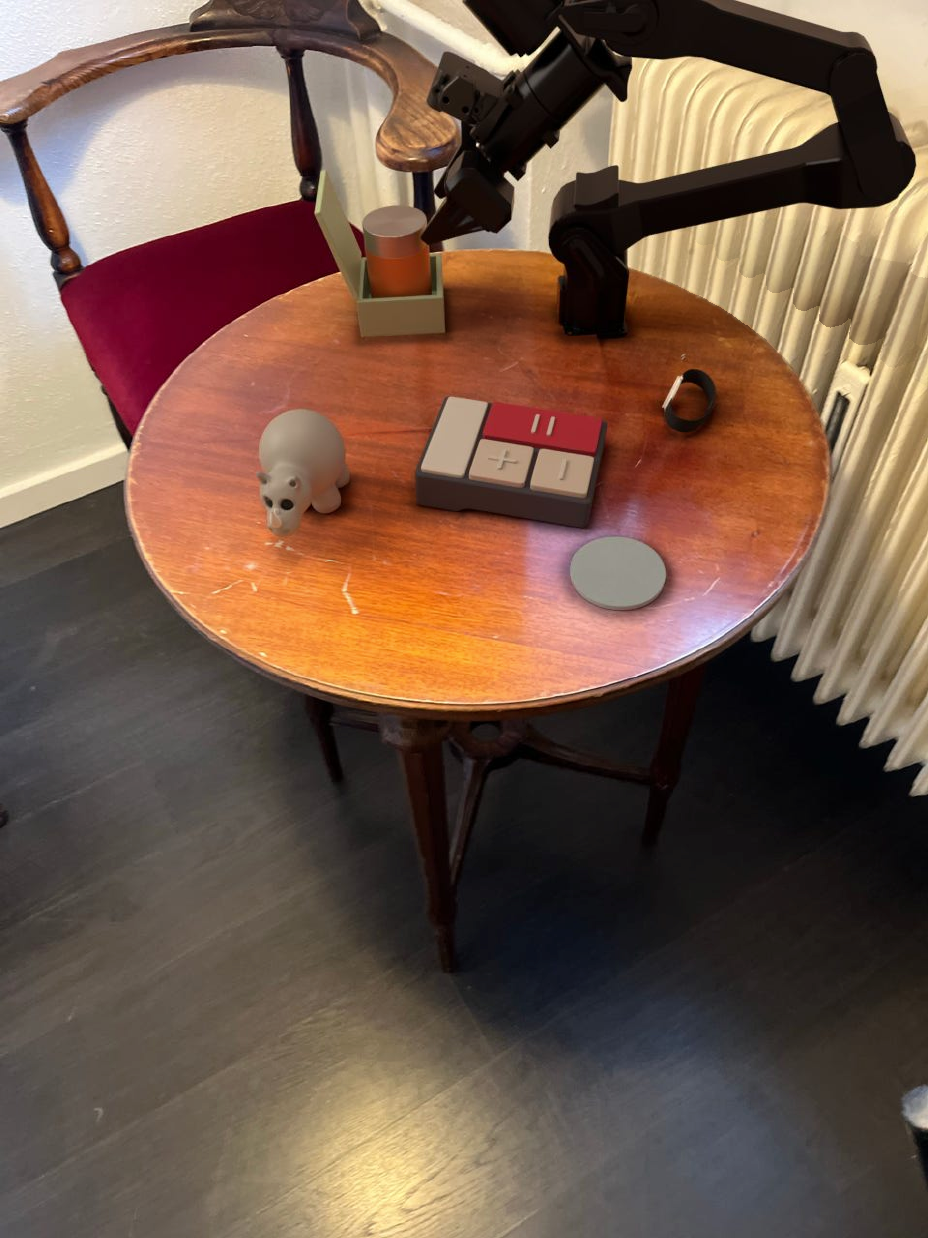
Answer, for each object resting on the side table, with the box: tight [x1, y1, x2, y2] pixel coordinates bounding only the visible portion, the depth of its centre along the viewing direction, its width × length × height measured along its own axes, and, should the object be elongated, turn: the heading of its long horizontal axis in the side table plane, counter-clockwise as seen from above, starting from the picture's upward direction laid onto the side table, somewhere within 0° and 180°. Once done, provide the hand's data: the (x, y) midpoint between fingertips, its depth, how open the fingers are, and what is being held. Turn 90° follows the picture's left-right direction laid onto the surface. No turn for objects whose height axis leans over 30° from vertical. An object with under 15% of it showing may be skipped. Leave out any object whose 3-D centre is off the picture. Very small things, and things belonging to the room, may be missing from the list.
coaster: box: [569, 536, 667, 611], centre depth 71 cm, size 8×8×1 cm
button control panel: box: [414, 396, 608, 529], centre depth 78 cm, size 11×4×15 cm
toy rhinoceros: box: [255, 408, 351, 538], centre depth 74 cm, size 7×12×8 cm, turn 168°
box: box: [355, 252, 446, 338], centre depth 95 cm, size 9×9×5 cm
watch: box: [661, 368, 717, 433], centre depth 83 cm, size 8×5×4 cm, turn 156°
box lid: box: [314, 169, 362, 300], centre depth 89 cm, size 9×9×1 cm
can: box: [361, 204, 432, 298], centre depth 92 cm, size 6×6×10 cm
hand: (430, 217), depth 88 cm, fingers open, 9 cm apart
